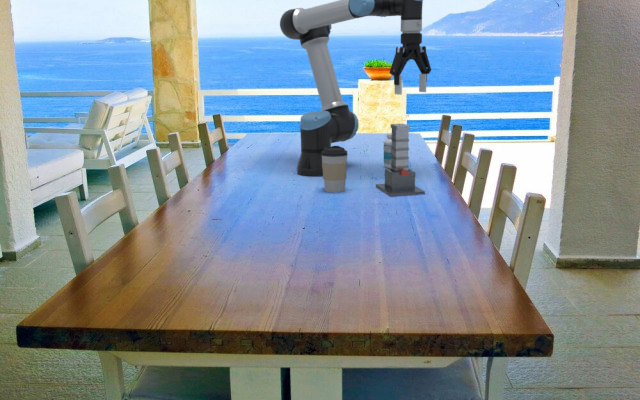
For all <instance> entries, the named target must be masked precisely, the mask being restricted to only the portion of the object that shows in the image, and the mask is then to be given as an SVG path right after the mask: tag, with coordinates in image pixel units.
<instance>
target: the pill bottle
mask: <svg viewBox="0 0 640 400" xmlns="http://www.w3.org/2000/svg"><path fill="white" fill-rule="evenodd" d="M391 138H392V132H390V133H389V132H388V133H387V134H386V139H384V140H383V167H384V168H385V169H391V164H392V158H391V155H392V149H391V146H392V140H391Z"/></svg>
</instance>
